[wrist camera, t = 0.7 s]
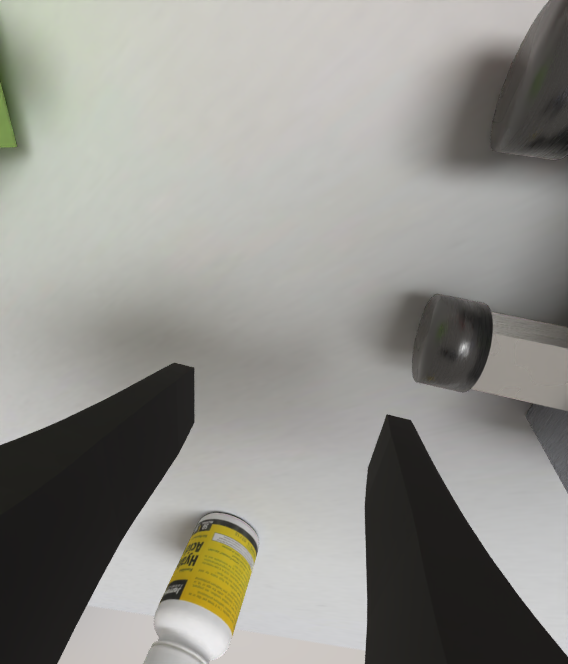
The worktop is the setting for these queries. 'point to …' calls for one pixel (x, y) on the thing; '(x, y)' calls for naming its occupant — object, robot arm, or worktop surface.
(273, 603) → the worktop surface
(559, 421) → the mount block
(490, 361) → the knob plunger
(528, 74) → the knob plunger
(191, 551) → the supplement bottle
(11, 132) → the kettle
